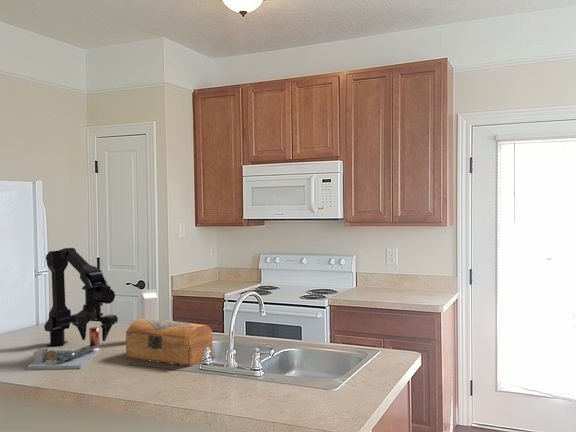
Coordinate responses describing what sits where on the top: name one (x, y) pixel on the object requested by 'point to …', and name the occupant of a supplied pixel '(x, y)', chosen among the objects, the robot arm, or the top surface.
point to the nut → (50, 354)
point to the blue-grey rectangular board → (73, 363)
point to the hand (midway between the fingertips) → (93, 340)
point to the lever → (93, 344)
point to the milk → (149, 304)
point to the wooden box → (168, 341)
